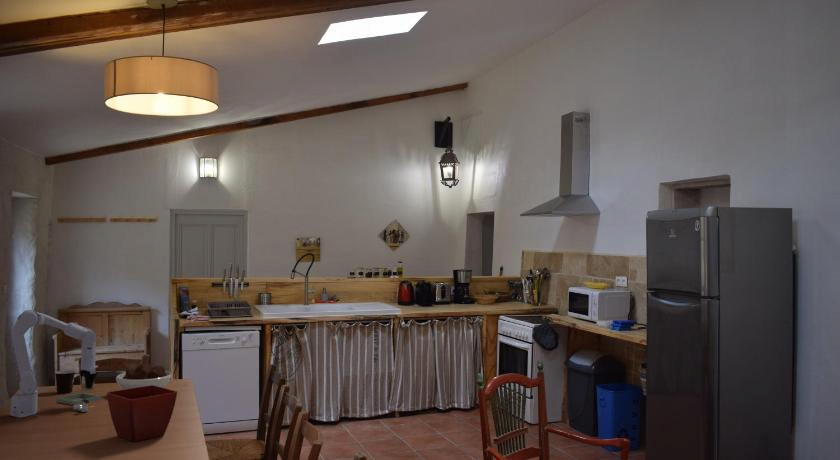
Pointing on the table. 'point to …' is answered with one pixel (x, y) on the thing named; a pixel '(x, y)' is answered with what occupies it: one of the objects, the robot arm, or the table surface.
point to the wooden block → (85, 385)
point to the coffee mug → (64, 381)
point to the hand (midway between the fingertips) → (87, 387)
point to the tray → (78, 398)
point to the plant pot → (141, 411)
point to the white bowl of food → (144, 377)
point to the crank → (82, 406)
